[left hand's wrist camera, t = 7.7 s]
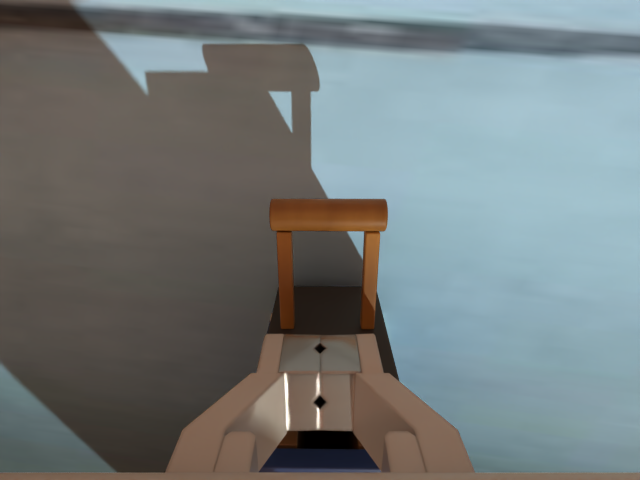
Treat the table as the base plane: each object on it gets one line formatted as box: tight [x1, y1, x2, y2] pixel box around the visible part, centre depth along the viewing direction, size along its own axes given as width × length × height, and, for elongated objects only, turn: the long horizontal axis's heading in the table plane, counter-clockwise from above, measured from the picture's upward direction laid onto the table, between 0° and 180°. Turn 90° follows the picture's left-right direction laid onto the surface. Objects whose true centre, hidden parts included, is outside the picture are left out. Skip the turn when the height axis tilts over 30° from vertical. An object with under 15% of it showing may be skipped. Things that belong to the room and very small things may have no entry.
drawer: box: [268, 199, 399, 449], centre depth 19 cm, size 23×5×8 cm, turn 0°
